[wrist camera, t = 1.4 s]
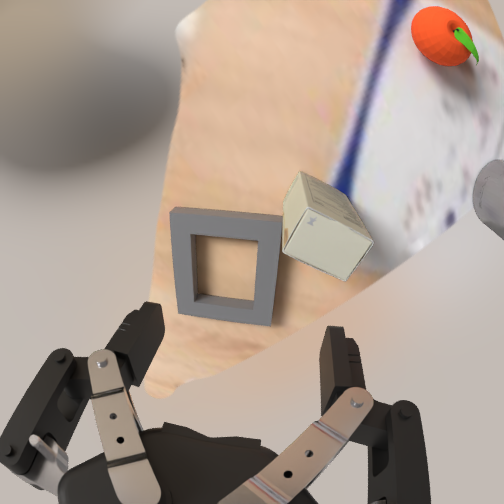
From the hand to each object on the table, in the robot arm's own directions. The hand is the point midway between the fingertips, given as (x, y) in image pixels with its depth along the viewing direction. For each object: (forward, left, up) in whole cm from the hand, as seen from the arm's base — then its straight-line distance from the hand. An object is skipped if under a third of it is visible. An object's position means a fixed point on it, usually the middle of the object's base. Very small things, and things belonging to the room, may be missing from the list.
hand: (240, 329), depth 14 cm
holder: (+5, +10, -22) cm, 25 cm away
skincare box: (-5, 0, -22) cm, 23 cm away
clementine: (-17, -21, -22) cm, 35 cm away
